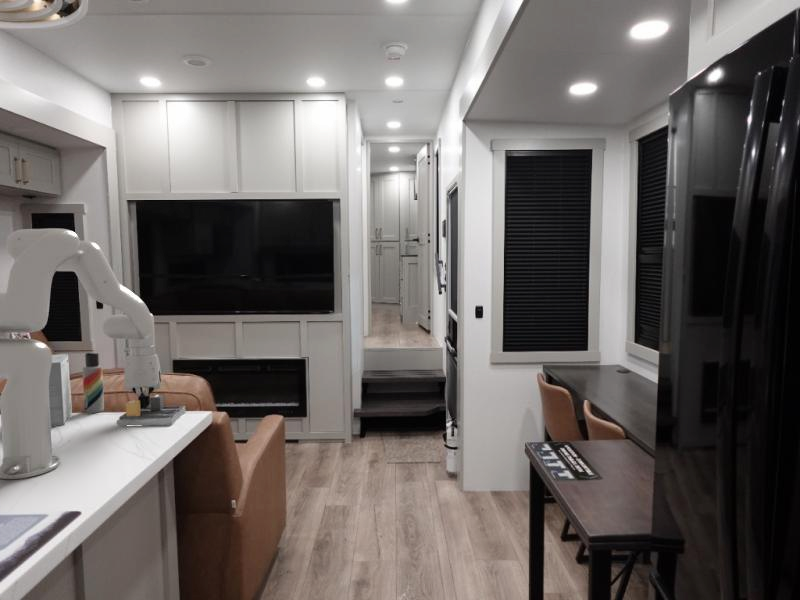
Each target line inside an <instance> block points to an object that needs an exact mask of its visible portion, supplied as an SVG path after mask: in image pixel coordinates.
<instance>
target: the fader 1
mask: <svg viewBox="0 0 800 600" xmlns="http://www.w3.org/2000/svg"><path fill="white" fill-rule="evenodd" d="M125 408H126V409H125V413H126V416H139V415H140V400H138V399H137V400H128V401H127V402H126V403H125Z"/></svg>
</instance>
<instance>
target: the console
mask: <svg viewBox="0 0 800 600" xmlns="http://www.w3.org/2000/svg"><path fill="white" fill-rule="evenodd" d="M185 413H187V412H186V406H185V405H169V406H168V405H165V406H164V409H163V410H151V406H148V407H147V408H146V409H144V408H142V409H140V415H139V416H126V412H125V413H124V414H123V413H122V414H121V415H120V416H119V417H118V419H117V420H116V427H117V426H127V425H158V426H173V425H174V424H175V423H176V422H177V421H178V420H179V419H180V418H181V417H182V416H184V414H185ZM180 416H181V417H180ZM179 417H180V418H179ZM178 418H179V419H178ZM177 419H178V420H177ZM176 420H177V421H176ZM175 421H176V422H175ZM174 422H175V423H174Z"/></svg>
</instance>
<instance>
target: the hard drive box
mask: <svg viewBox="0 0 800 600" xmlns="http://www.w3.org/2000/svg"><path fill="white" fill-rule="evenodd" d="M69 365H70V363H69V354H67V353H62V354H61V353H60V354H52V365H51V370H50V376H49V404H50V423H51V427H56V426H55V425H59V426H64V425H65V424H66V422H67V421H68V419H69V417H70V416H71V414H72V412H73V406H72V405H73V404H72V392H71V391H72V390H71V380H70V366H69ZM69 415H70V416H69ZM67 418H68V419H67ZM65 421H66V422H65ZM64 423H65V424H64ZM63 424H64V425H63Z"/></svg>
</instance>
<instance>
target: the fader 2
mask: <svg viewBox="0 0 800 600" xmlns="http://www.w3.org/2000/svg"><path fill="white" fill-rule="evenodd" d="M149 407H151V410H163V409H164V394H162V395H161V394H155V395H152V396H150V405H149Z"/></svg>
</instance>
